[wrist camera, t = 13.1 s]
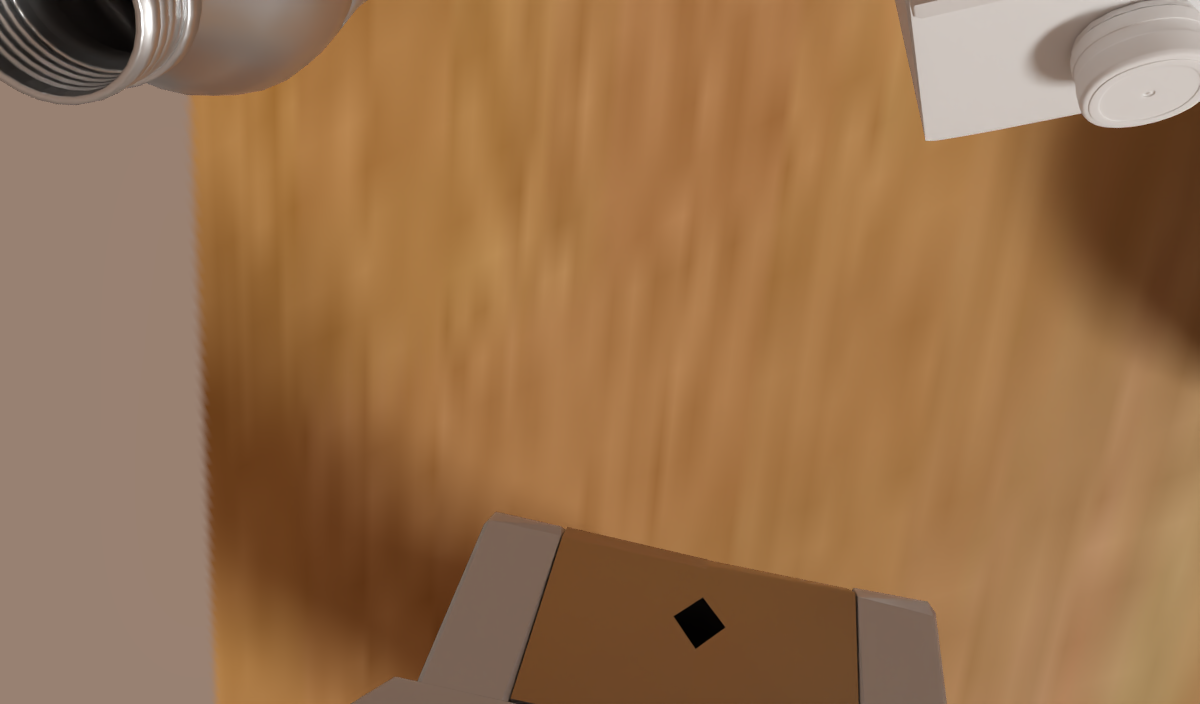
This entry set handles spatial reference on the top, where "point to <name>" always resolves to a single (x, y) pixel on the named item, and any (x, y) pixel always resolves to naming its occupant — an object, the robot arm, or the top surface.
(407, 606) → the top surface
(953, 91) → the milk carton
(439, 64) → the top surface
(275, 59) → the plastic bottle
